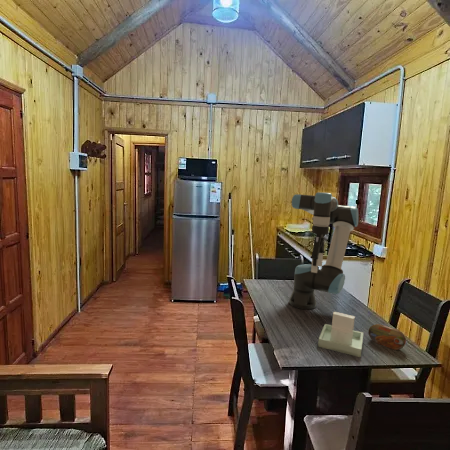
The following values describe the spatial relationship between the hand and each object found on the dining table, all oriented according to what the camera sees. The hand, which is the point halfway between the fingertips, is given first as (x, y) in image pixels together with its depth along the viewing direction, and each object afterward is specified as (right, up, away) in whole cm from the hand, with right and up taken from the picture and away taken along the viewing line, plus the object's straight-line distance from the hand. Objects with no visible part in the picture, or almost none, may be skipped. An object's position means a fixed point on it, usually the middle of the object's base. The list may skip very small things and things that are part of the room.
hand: (316, 269), depth 155 cm
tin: (+27, -32, -12) cm, 44 cm away
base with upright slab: (+7, -30, -12) cm, 33 cm away
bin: (+7, -31, -12) cm, 34 cm away
